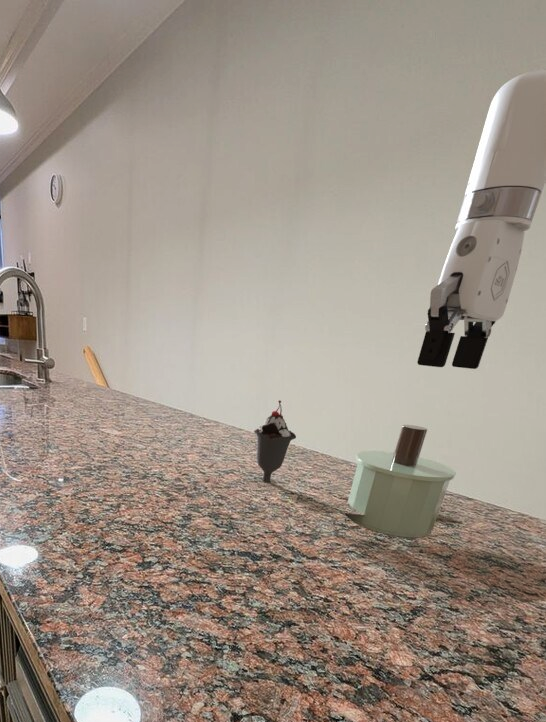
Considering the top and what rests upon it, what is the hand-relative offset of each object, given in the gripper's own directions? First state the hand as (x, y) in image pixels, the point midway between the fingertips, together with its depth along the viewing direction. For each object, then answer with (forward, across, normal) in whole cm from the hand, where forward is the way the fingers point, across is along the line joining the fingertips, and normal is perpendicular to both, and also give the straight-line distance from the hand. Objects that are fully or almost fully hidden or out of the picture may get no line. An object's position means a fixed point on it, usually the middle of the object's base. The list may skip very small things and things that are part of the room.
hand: (447, 366), depth 59 cm
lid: (+14, -1, +1) cm, 14 cm away
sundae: (+23, -10, +19) cm, 31 cm away
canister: (+23, -1, +1) cm, 23 cm away
